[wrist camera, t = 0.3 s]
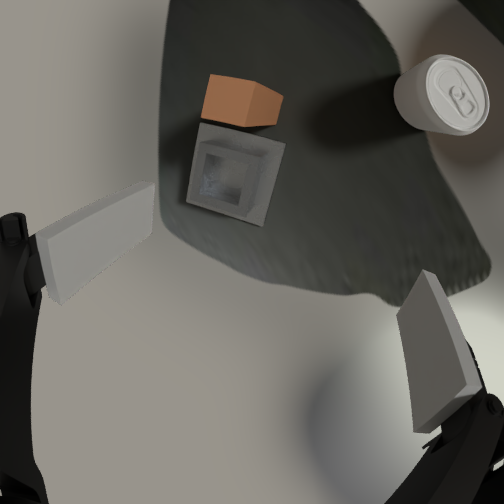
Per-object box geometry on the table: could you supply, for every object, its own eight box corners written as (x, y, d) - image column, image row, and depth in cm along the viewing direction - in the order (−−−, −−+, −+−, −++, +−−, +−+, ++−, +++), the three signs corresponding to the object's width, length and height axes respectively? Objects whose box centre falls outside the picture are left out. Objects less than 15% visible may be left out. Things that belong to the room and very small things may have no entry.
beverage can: (420, 59, 24) (455, 37, 14) (458, 109, 25) (505, 109, 15) (379, 92, 28) (402, 79, 18) (420, 142, 29) (457, 153, 19)
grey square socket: (202, 122, 36) (188, 123, 32) (286, 143, 34) (281, 146, 31) (188, 200, 42) (174, 209, 38) (263, 224, 40) (256, 236, 36)
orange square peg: (253, 89, 32) (210, 74, 20) (283, 96, 32) (255, 81, 20) (246, 117, 34) (200, 117, 22) (275, 124, 34) (244, 127, 22)
